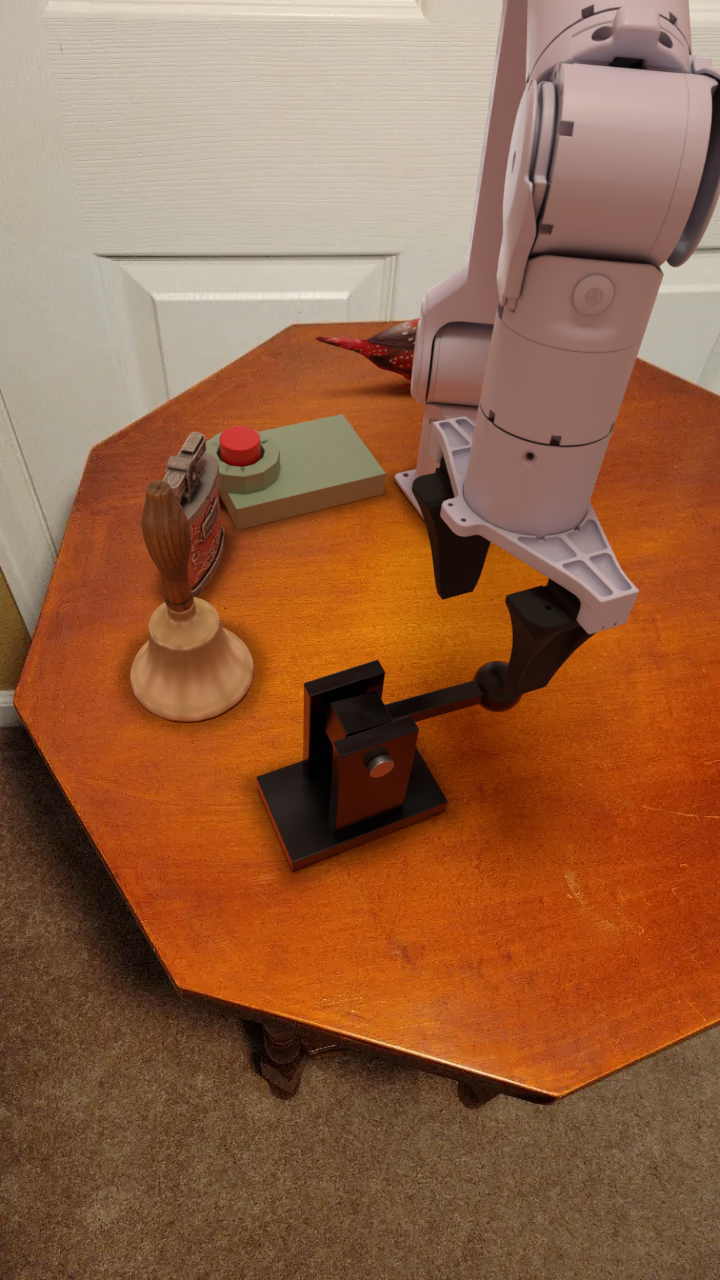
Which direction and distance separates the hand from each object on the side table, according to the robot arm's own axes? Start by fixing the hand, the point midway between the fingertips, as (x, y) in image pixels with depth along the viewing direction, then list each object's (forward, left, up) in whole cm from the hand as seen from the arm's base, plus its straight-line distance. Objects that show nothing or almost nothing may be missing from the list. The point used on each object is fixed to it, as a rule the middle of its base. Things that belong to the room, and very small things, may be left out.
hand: (489, 636), depth 44 cm
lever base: (+8, +1, -11) cm, 14 cm away
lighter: (+11, -22, -11) cm, 27 cm away
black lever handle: (+4, +1, -5) cm, 6 cm away
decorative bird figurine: (-15, -38, -11) cm, 43 cm away
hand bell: (+14, -12, -11) cm, 22 cm away
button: (+4, -29, -8) cm, 31 cm away
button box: (0, -29, -11) cm, 31 cm away
